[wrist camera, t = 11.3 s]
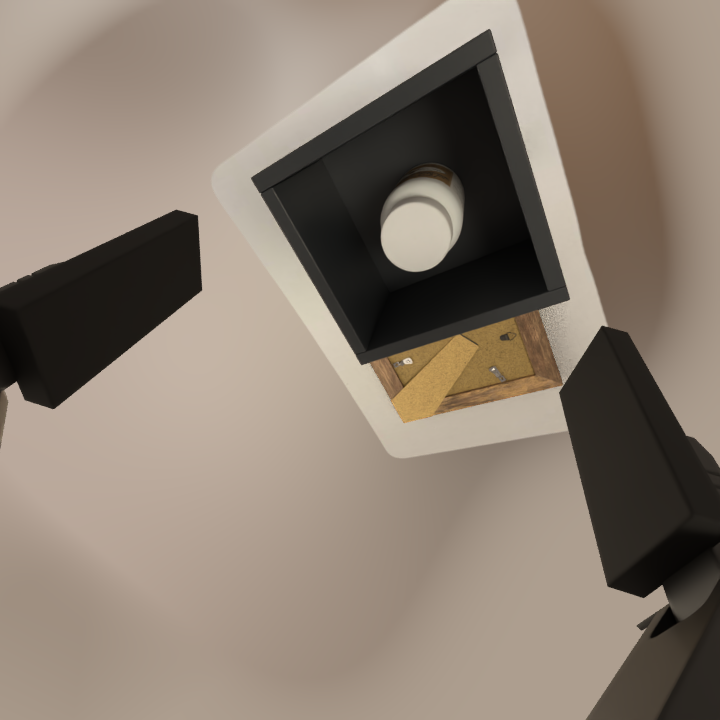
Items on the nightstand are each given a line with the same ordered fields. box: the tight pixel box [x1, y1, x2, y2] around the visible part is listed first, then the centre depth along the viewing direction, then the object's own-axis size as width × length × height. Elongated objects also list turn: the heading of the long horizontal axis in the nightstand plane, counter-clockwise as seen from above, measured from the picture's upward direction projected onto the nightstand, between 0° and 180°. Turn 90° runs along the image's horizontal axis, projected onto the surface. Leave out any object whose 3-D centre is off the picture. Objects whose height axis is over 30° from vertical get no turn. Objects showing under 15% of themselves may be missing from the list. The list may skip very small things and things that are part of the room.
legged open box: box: [251, 29, 570, 365], centre depth 32 cm, size 12×12×31 cm
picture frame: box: [370, 310, 563, 423], centre depth 58 cm, size 19×2×24 cm
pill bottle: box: [380, 163, 465, 272], centre depth 23 cm, size 4×4×8 cm
